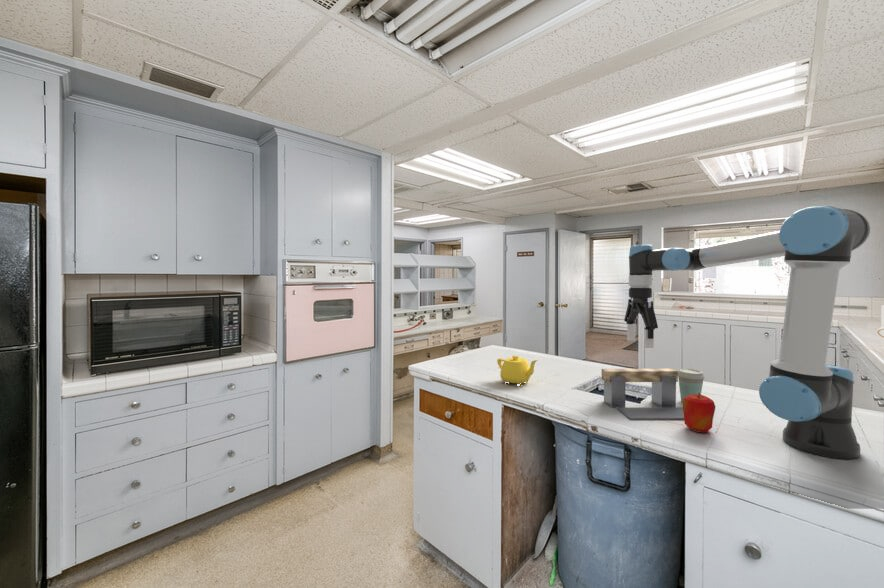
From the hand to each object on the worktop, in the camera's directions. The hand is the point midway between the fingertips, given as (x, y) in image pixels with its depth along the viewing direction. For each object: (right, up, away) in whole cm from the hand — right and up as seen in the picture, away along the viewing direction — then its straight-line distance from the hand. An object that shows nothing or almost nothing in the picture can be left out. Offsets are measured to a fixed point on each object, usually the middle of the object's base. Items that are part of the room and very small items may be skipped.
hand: (639, 344), depth 138 cm
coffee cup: (+20, -23, +2) cm, 30 cm away
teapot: (-39, -22, +31) cm, 54 cm away
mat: (+2, -23, -9) cm, 25 cm away
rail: (0, -14, 0) cm, 14 cm away
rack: (0, -23, +1) cm, 23 cm away
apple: (+6, -24, -22) cm, 33 cm away
